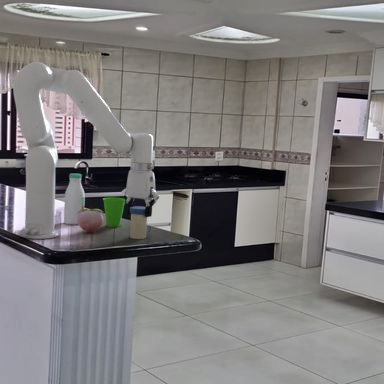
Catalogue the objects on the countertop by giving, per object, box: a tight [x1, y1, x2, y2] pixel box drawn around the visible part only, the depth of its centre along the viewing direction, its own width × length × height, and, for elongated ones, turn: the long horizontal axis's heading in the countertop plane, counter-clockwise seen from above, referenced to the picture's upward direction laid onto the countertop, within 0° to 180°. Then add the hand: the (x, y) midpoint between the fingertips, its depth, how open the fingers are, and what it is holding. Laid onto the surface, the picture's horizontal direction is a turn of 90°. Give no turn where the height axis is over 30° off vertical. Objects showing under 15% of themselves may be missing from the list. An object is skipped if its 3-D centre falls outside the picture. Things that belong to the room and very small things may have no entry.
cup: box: [102, 197, 126, 228], centre depth 227 cm, size 9×9×11 cm
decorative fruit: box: [77, 205, 105, 234], centre depth 211 cm, size 9×8×10 cm
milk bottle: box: [63, 173, 86, 225], centre depth 227 cm, size 8×8×20 cm
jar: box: [129, 213, 148, 240], centre depth 208 cm, size 6×6×11 cm
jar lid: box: [130, 205, 146, 214], centre depth 208 cm, size 7×7×2 cm
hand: (139, 215), depth 208 cm, fingers open, 7 cm apart
